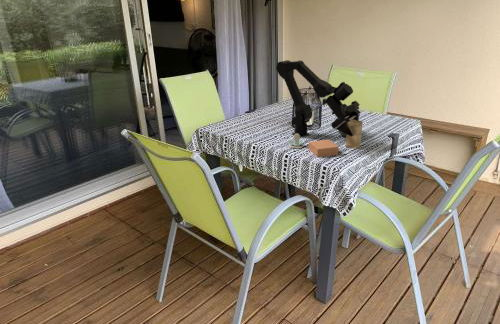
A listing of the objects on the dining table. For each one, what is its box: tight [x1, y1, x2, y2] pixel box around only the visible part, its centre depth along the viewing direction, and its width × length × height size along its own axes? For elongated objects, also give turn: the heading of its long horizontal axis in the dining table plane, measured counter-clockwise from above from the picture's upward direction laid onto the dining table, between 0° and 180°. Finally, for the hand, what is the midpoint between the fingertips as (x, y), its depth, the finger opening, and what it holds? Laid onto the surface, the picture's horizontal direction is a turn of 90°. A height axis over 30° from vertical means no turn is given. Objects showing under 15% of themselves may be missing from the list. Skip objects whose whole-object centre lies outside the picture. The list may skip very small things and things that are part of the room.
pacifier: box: [288, 133, 305, 149], centre depth 174 cm, size 7×6×6 cm
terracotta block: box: [308, 139, 339, 158], centre depth 167 cm, size 10×10×4 cm
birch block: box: [345, 120, 363, 150], centre depth 171 cm, size 5×5×12 cm
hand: (356, 133), depth 170 cm, fingers open, 9 cm apart
